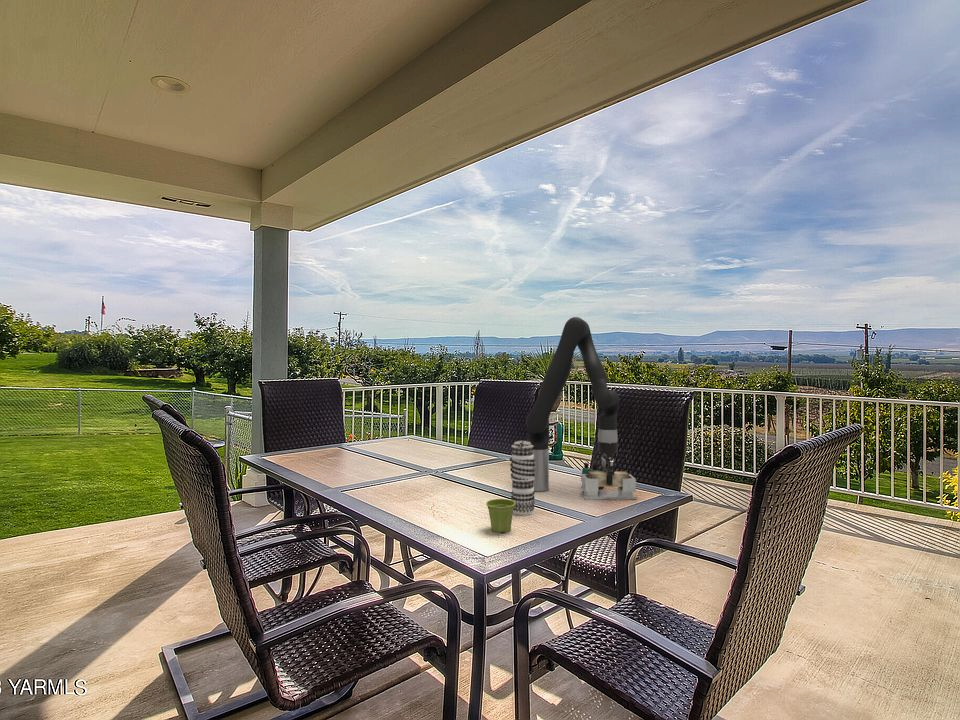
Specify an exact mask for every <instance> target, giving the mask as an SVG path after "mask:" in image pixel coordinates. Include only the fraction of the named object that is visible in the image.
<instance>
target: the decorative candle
mask: <svg viewBox="0 0 960 720" xmlns="http://www.w3.org/2000/svg"><path fill="white" fill-rule="evenodd" d="M533 458H534V454H533V445H532V444H531V443H530V442H529V441H527V440H516V441H514V443H513V444H511V457H510V458H509V461H510V462H511V463H510V464H509V466H510V472H511V473H510V479H511V481H512V482H511V483H512V484H511V492H510V493H511V494H510V495H511V496H510V499H511V500H513V501H515V503H516V504H515V506H514V509H513V514H514V515H520V516H521V515H522V516H527V515H533V514H535V508H536V506H535V504H536V501H535V500H534V499H535V498H536V497H535V492H536V491H534V487H533V480H534V477H533V476H535V474H534V473H533V472H534V471H535V469H533V466H535V464H534V463H533V462H535V459H533Z"/></svg>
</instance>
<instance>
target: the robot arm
mask: <svg viewBox="0 0 960 720" xmlns="http://www.w3.org/2000/svg"><path fill="white" fill-rule="evenodd" d="M576 348H578V350H579V352H580V354H581V357H582V360H583V366H584V369H585V373H586V375H587V377H588V379H589V381H590V384H591V388H592V389H591V390H592V393H593V394H592V395H593V398H594V401H595V403H596V405H597V406H598V407H599V408H600V409H602V413H600V415H599V416H598V433H597V444H598V445H597V451H598V453H601V456H600V457H601V469H602V472H606V483H607V485H612V476H613V475H614V472H615V469H616V461H615V458H614V455H613V454H617V453H619V452H618V450H619V449H618V448H619V447H618V445H619V443H618V438H619V436H618V429H617V428H618V420H617V417H618V414H619V410H620V402H621V401H620V396H619V393H617V391H616V390H611V389H609V388H608V383H609V377H608V374H607V373H606V370H605V368H604V366H603V364H602V361H601V360H600V357H599V354H598V353H597V349H596V347H595V344H594V341H593V337H592V333H591V328H590V325H589V324H588V322H587V321H585V320H584V319H583V318H581V317H578V316H573V317H570V318H569V319H568V320H567V321H566V322H565V324H564V326H563V329H562V331H561V334H560V339H559V342H558V344H557V348H556V350H555V352H554V354H553V356H552V358H551V361H550V362H549V365H548V368H546V369H547V370H546V372H545V373H544V374H545V375H544V377H543V380H542V382H541V385H540V389H539V392H538V394H537V395H538V396H537V398H536V399H535V402H534V404H533V406H532V408H531V410H530V411H529V413H528V414H527V416H526V419H525V425H526V428H527V437H526V441H529V442H530V443H531V444H532V445H533V454H534V458H533V459H535V462H533V463H534V464H535V466H533V469H535V471H534V472H533V473H534V474H535V476H533V477H534V480H533V487H534V492H546V491H548V490H549V489H550V472H549V471H550V470H549V469H550V467H549V466H550V465H549V463H550V462H549V459H550V458H549V456H550V454H549V453H550V451H549V449H550V448H549V443H550V416H551V413H552V409H553V407H554V406H555V403H556V401H557V400H558V398H559V397H560V395H561V394H562V391H563V390H564V388H565V386H566V383H567V381H568V379H569V376H570V373H571V371H572V366H573V365H572V364H573V358H574V354H575V353H574V352H575V350H576Z"/></svg>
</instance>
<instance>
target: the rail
mask: <svg viewBox="0 0 960 720" xmlns="http://www.w3.org/2000/svg"><path fill="white" fill-rule="evenodd" d="M629 474H630V473H628V472H627V471H614V475H613V476H612V485H607V483H606V472H603V471H599V472H590V471H588V478H598V487H605V488H606V487H607V488H610V487H611V488H612V487H614V488H618V487H622V478H629Z"/></svg>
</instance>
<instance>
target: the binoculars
mask: <svg viewBox="0 0 960 720" xmlns="http://www.w3.org/2000/svg"><path fill="white" fill-rule="evenodd" d="M589 466H590V465H589V463H588V462H583V467H582V470H581V475H582V474H588V471H590V472H600V470H599V469H598V466H599V464H593V465H592V468H590V467H589ZM580 482H582V476H580ZM581 488H582V489H583V487H582V486H581ZM599 488H601V489H602V488H604V487H598V489H599Z"/></svg>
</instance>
